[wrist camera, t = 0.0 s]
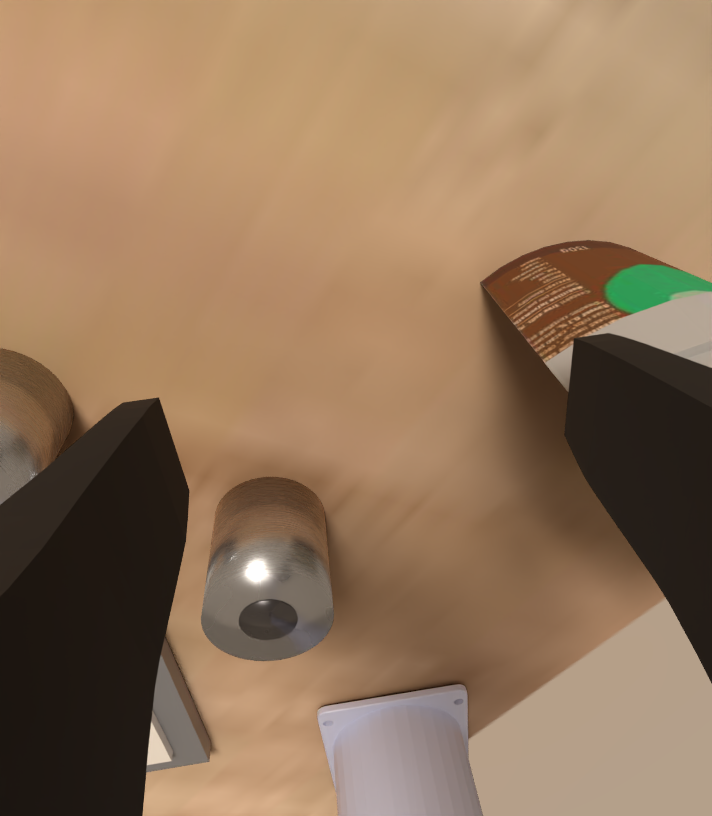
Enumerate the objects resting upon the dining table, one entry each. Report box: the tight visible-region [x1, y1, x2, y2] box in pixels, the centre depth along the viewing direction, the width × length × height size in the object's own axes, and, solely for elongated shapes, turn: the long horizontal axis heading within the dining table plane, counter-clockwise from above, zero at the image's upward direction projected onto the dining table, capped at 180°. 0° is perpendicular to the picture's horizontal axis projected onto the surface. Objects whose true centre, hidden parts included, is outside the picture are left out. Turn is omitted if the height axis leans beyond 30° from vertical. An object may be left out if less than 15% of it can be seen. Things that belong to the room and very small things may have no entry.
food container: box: [480, 240, 712, 393], centre depth 17 cm, size 12×6×10 cm, turn 42°
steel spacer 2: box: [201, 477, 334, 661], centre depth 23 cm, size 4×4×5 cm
